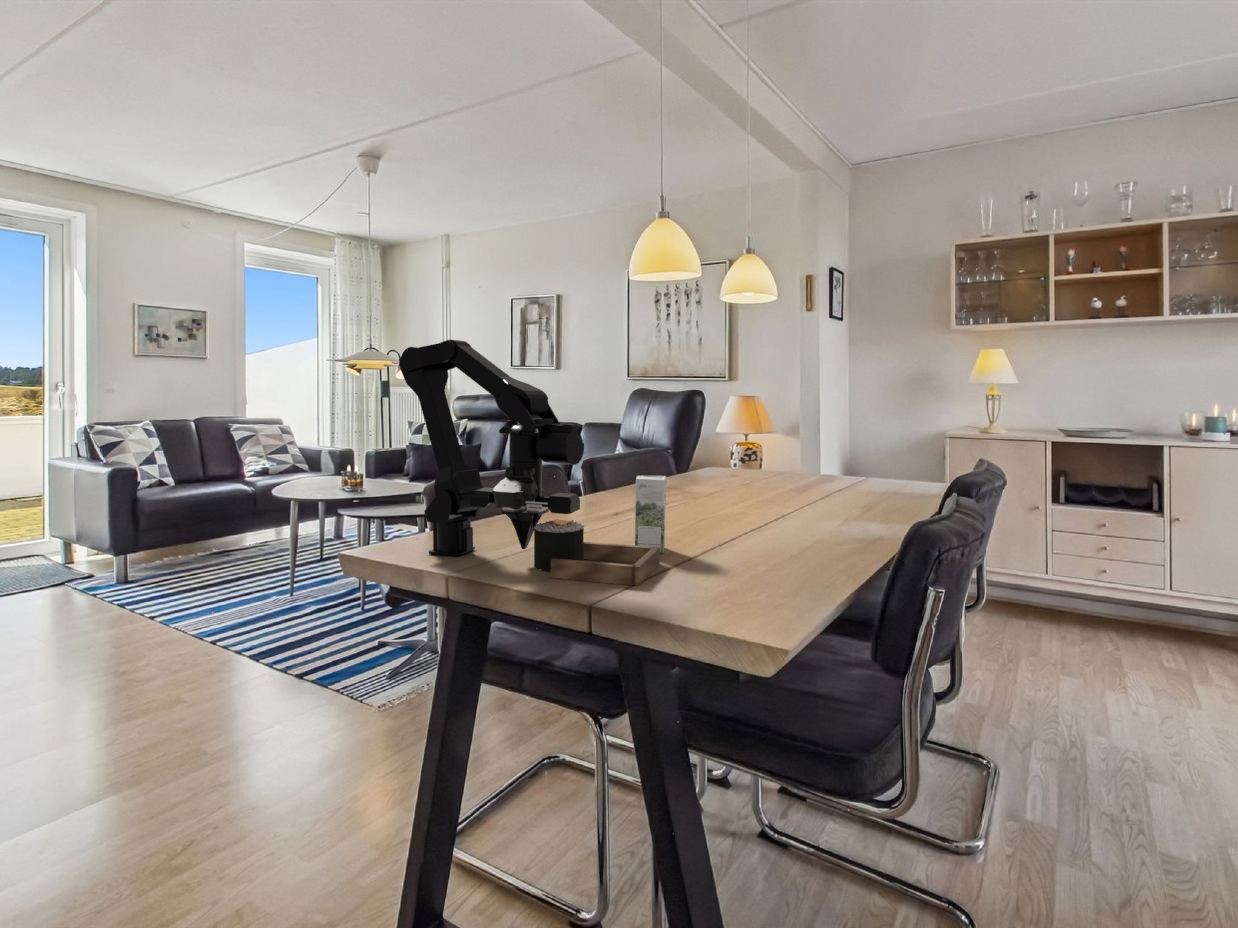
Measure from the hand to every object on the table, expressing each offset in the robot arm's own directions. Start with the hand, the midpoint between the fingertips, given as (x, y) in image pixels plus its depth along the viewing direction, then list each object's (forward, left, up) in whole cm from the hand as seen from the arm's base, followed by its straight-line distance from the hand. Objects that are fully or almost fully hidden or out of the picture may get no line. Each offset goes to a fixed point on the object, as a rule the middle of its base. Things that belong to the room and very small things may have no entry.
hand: (524, 548), depth 124 cm
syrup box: (+19, +18, -3) cm, 26 cm away
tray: (+16, 0, -3) cm, 16 cm away
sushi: (+7, 0, -3) cm, 7 cm away
